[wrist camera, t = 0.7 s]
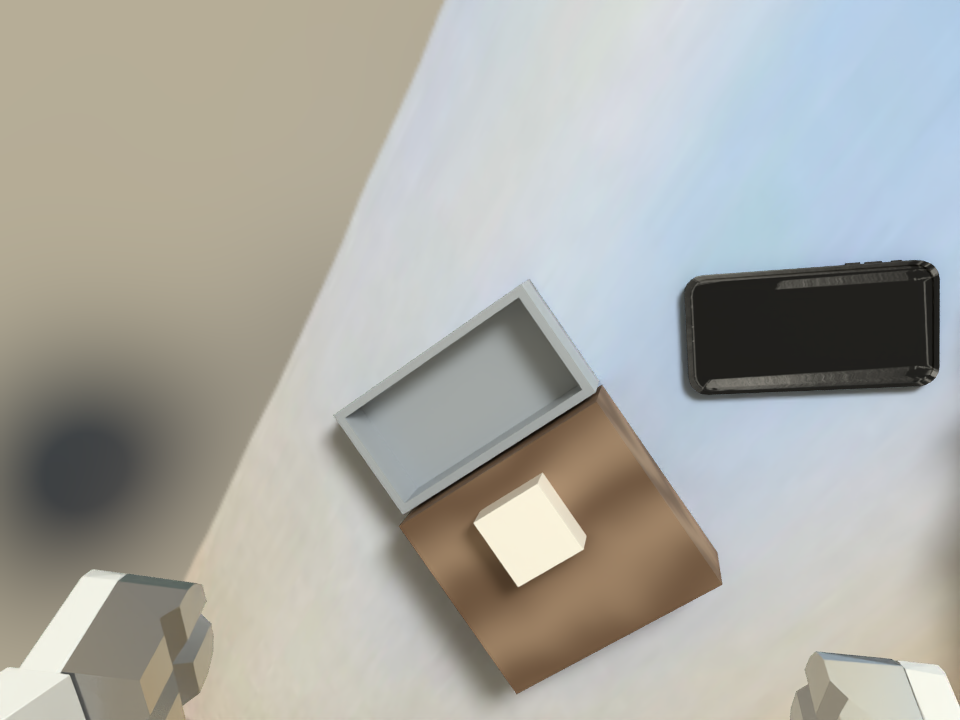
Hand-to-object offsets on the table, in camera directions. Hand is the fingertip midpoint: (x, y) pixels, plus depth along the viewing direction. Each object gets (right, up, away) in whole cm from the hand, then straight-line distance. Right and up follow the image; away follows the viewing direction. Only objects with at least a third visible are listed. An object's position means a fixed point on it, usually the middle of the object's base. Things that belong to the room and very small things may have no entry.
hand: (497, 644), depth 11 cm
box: (-1, +2, +48) cm, 48 cm away
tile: (+3, -7, +43) cm, 44 cm away
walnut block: (+6, -8, +48) cm, 49 cm away
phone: (+21, +6, +43) cm, 48 cm away
